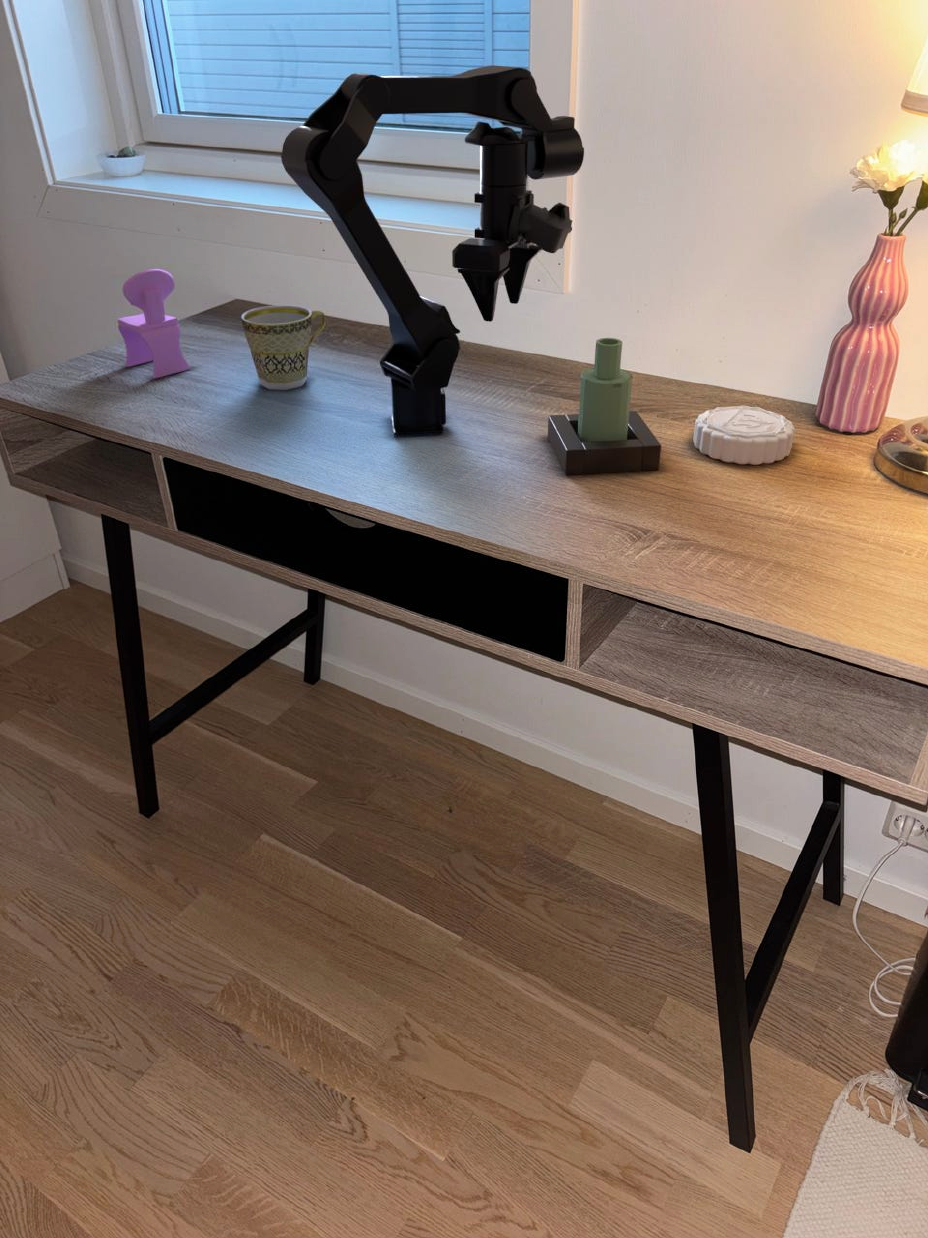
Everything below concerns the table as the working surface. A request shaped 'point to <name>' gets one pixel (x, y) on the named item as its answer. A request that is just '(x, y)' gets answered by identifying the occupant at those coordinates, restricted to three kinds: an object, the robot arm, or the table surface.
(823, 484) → the table surface
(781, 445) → the mooncake
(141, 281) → the toy chair
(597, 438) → the vase
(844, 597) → the table surface
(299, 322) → the ceramic cup
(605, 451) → the holder
